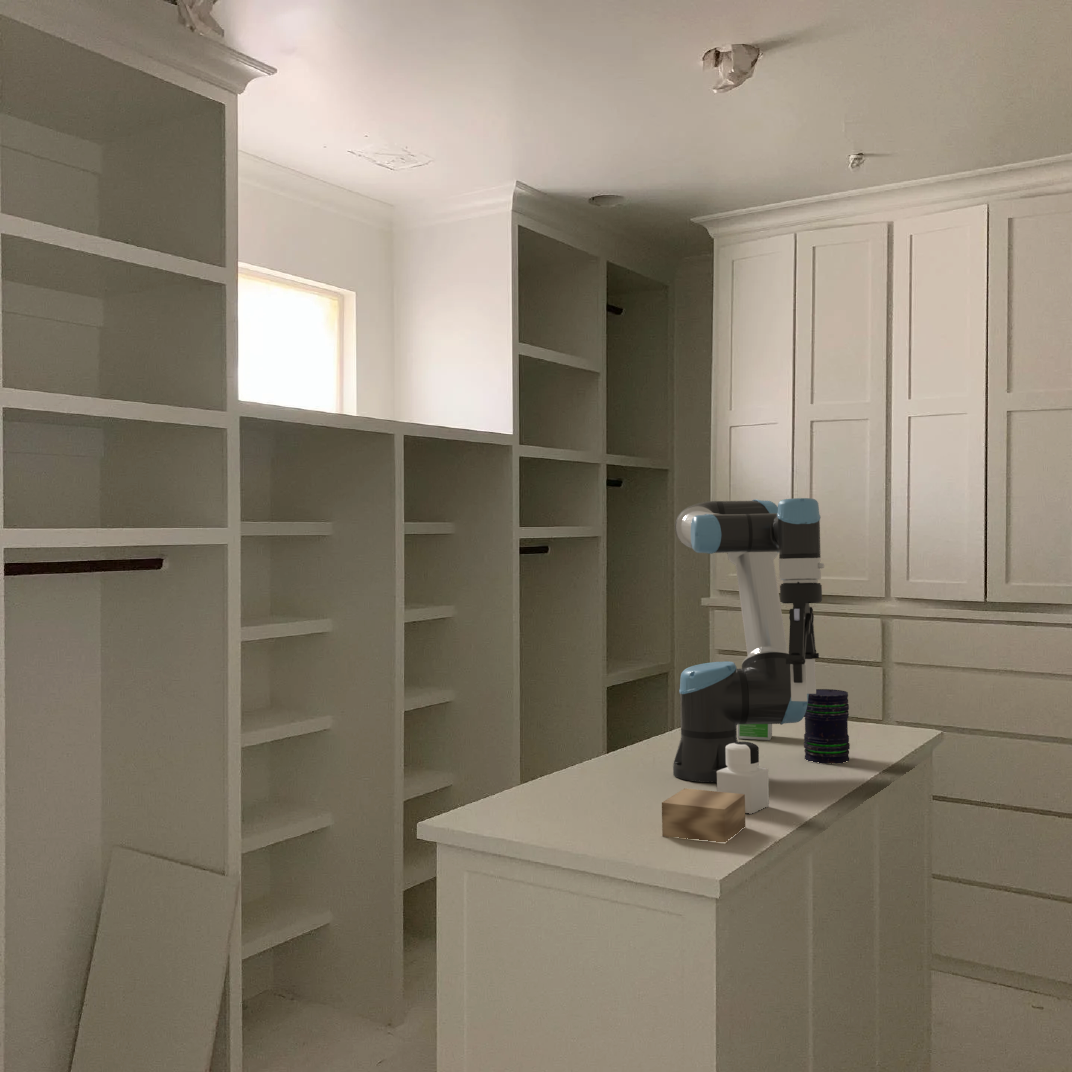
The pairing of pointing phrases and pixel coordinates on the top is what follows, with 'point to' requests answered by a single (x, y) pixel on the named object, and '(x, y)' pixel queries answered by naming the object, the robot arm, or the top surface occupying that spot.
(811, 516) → the robot arm
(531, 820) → the top surface
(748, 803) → the medicine bottle
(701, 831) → the oak box
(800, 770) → the top surface
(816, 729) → the storage jar
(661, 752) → the top surface
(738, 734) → the skincare box
